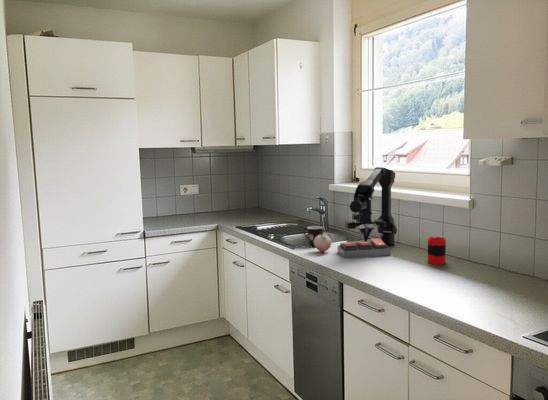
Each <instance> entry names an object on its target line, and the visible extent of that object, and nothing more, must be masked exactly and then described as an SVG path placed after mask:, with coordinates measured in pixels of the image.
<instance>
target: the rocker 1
mask: <svg viewBox="0 0 548 400" xmlns="http://www.w3.org/2000/svg"><path fill="white" fill-rule="evenodd" d="M341 243H342V244H343V245H344V246H355V242H341Z"/></svg>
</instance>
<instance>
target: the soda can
mask: <svg viewBox="0 0 548 400" xmlns="http://www.w3.org/2000/svg"><path fill="white" fill-rule="evenodd" d="M446 242H447V240H446V239H445V237H444V236H443V235H439V234H438V235H437V234H436V235H429V237H428V239H427V263H428V264H431V265H436V266H437V265H438V266H439V265H445V263H446V250H447V249H446V246H447V245H446Z"/></svg>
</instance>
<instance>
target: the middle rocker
mask: <svg viewBox="0 0 548 400" xmlns="http://www.w3.org/2000/svg"><path fill="white" fill-rule="evenodd" d="M356 242H357V244H359V245H370V241H366V242H364V241H356Z"/></svg>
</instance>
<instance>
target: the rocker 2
mask: <svg viewBox="0 0 548 400" xmlns="http://www.w3.org/2000/svg"><path fill="white" fill-rule="evenodd" d="M370 241H371V242H372V243H373V244H375V245H376V246H377V245H385V244H384V242H383V241H382V240H381V239H380V237H379V238H371V239H370Z"/></svg>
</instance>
